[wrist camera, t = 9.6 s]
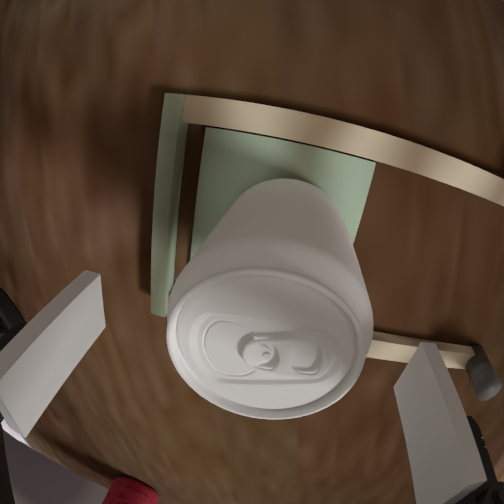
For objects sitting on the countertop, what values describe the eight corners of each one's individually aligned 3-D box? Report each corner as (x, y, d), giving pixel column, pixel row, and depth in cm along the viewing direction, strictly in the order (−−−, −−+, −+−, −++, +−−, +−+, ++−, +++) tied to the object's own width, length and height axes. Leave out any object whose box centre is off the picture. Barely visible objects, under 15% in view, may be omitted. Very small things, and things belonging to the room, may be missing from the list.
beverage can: (223, 176, 21) (133, 250, 10) (349, 178, 19) (400, 259, 9) (230, 285, 24) (175, 413, 13) (340, 290, 23) (356, 428, 12)
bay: (159, 304, 26) (134, 340, 22) (176, 89, 19) (141, 85, 14) (474, 364, 24) (491, 400, 20) (552, 201, 17) (588, 222, 12)
